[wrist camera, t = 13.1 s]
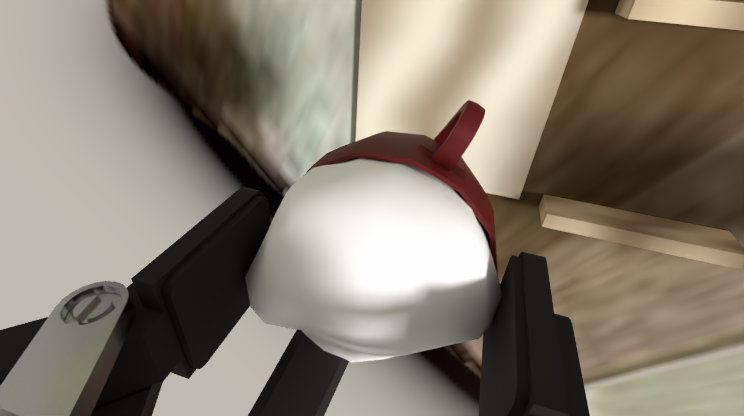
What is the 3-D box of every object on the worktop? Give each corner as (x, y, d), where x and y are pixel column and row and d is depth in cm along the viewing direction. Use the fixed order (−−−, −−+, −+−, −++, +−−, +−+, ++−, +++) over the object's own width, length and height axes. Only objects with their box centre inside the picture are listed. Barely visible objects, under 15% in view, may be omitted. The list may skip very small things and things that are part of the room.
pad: (586, -1, 19) (589, 0, 18) (518, 195, 26) (518, 199, 25) (365, -22, 21) (362, -21, 21) (356, 162, 28) (354, 165, 28)
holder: (898, 15, 16) (955, 21, 14) (719, 243, 23) (739, 269, 21) (623, -10, 18) (638, -7, 16) (538, 206, 26) (541, 226, 24)
